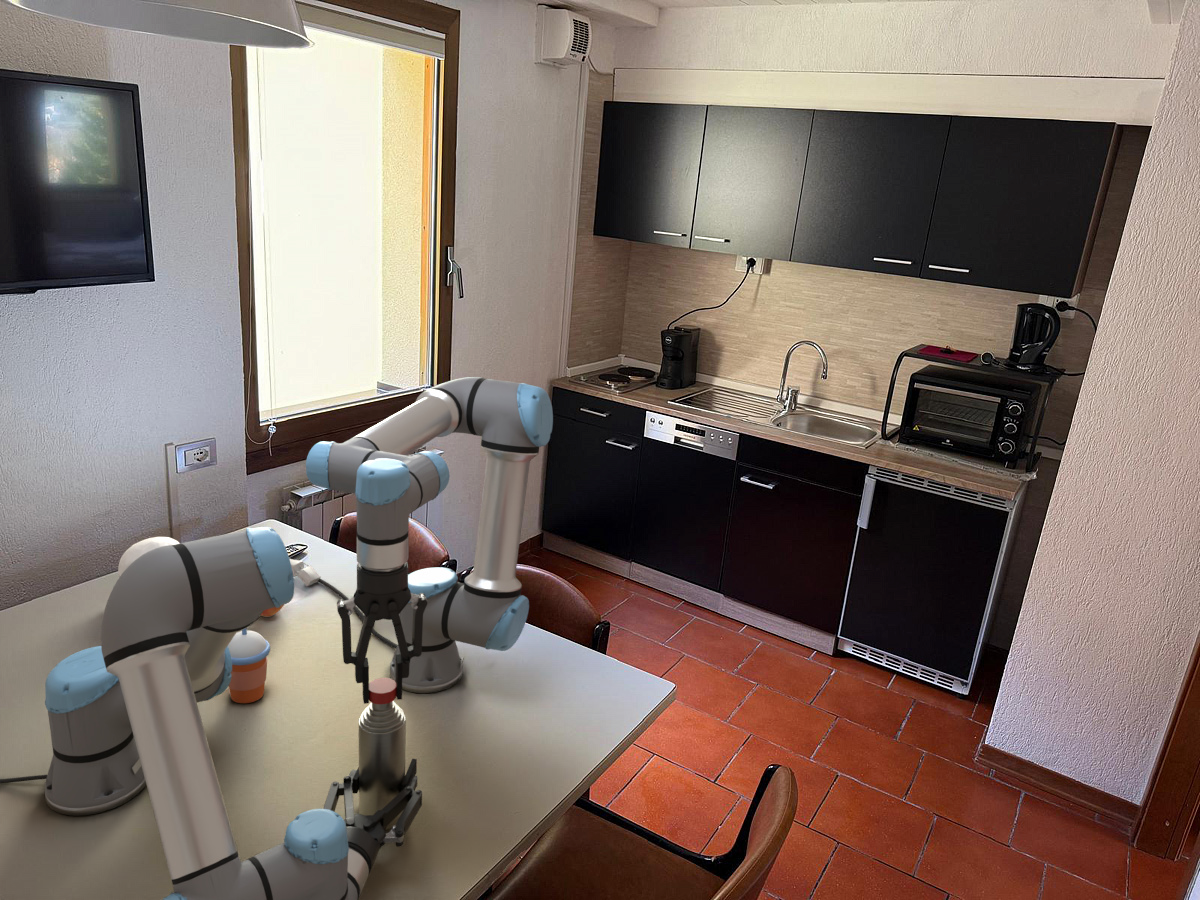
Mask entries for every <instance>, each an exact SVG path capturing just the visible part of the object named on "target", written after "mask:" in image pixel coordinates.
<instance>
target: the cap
mask: <svg viewBox="0 0 1200 900" xmlns="http://www.w3.org/2000/svg"><path fill="white" fill-rule="evenodd" d="M396 700H397V685H396V682H395V681H394V680H393V679H391V678H390V677H379V678H374V679H373V680H371V681H369V703H371V702H372V703H374V704H387V703H390V702H392V701H394V702H395V701H396Z"/></svg>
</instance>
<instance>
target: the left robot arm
mask: <svg viewBox="0 0 1200 900" xmlns="http://www.w3.org/2000/svg"><path fill="white" fill-rule="evenodd" d="M179 543H180V542H179ZM290 559H291V558H290V556H289V553H288V551H287V548H286V545H285V543H284V542H283V539H282V537H281V536H280V534H279V533H278V532H277V531H276V530H275V529H274V528H273V527H270V526H260V527H246V528H245V529H244V530H239V531H235V532H230V533H225V534H220V535H215V536H214V535H213V536H209V537H204V538H201V539H195V540H191V541H185V542H181V543H180V544H176V545H168V546H162V547H159V548H156V549H153V550H151V551H149V552H147V553H145V554H143V555H142V556H140V557H139V558H137V559H136V560H135V561H134V562H133V563H132V564H130V565H129V566H128V567H127V569H126V570H125V571H124V572H123V573H122V575H121V576H120V577H119V576H118V579H117V580H116V582H115V584H114V585H113V587H112V588H111V589H112V590H111V591H110V594H109V596H108V598H107V601H106V604H105V607H104V610H103V614H102V620H101V626H100V645H97V646H92V647H88V648H85V649H82V650H79V651H77V652H75V653H73V654H70V655H69V656H66V657H65V658H63V659H61V661H59V662H58V663H57V664H56V665H55V667H53V668H52V669H51V670H50V671H49V673H48V675H47V677H46V679H45V684H44V685H45V686H44V687H45V689H44V690H45V691H44V692H45V693H44V694H45V698H44V699H45V700H44V705H45V708H46V710H47V715H48V723H49V724H48V725H49V731H50V739H51V746H52V757H51V761H50V764H49V768H48V771H47V774H39V775H28V776H21V777H19V776H18V777H10V778H0V784H9V783H11V784H12V783H20V782H26V781H27V782H29V781H38V780H39V781H41V780H45V781H44V799H45V802H46V805H47V806H48V807H49V808H50V809H51V810H53V811H54V812H56V813H58V814H61V815H65V816H66V815H67V816H89V815H95V814H99V813H104V812H107V811H110V810H113V809H115V808H117V807H119V806H121V805H123V804H125V803H127V802H130V800H132V799H133V798H135V797H136V796H137V795H139V794H140V792H142V791H143V790H144V788H147V792H148V796H149V801H150V803H151V808H152V811H153V815H154V818H155V822H156V826H157V830H158V835H159V837H160V841H161V845H162V850H163V853H164V857H165V862H166V864H167V869H168V872H169V876H170V879H171V884H172V886H173V892H171V893H170V894H169V895H167V896H165V897H164V898H162V900H359V899H360V896H361V894H362V892H363V890H364V887H365V885H366V883H367V880H368V878H369V874H370V873H371V871H372V868H373V866H374V863H375V861H376V859H377V857H378V854H379V851H380V850H381V848H383V847H384V846H385V844H388V843H394V845H395V846H396V847H397V848H399V847H403V846H404V840H405V835H406V833H407V832H408V830H409V829H410V826H411V825H412V823H413V822H414V820H415V818H416V816H417V814H418V813H419V811H420V810H421V808H422V806H423V790H421V789H417V787H418V775H417V771H418V769H417V765H418V764H417V763H418V759H417V758H411V761H410V763H409V764H408V768H407V770H406V772H405V777H404V780H403V782H402V790H401V792H400V793H399V794H398V795H397V796H396V797H395V798H394V799H392V800H391V801H390V802H389V803H388V804H387V805H386V806H385V807H384V808H383V809H382V810H378V811H377V812H376V813H375V814H374V815H362V814H359V813H355V809H354V808H355V807H354V796H353V794H359V766H358V767H357V769H352V770H351V771H349V774H348V775H346V776H344V777H343V782H341V783H340V782H339V781H332V782H331V784H330V787H329V790H328V793H327V795H326V799H325V802H324V804H323V808H313V809H308V810H305V811H303V812H301V813H299V814H298V815H296V817H295V818H294V819H293V820H292V821H290V822H289V824H288V826H286V830H285V834H284V838H283V842H281V843H279V844H277V845H275V846H273V847H271V848H269V849H266V850H265V851H262V852H260V853H257V854H255V855H253V856H251V857H249V858H247V859H245V860H243V861H241V858H240V856H239V855H240V854H239V852H238V851H239V849H238V847H237V843H236V839H235V836H234V832H233V829H232V825H231V821H230V817H229V814H228V811H227V807H226V802H225V798H224V796H223V792H222V788H221V784H220V782H219V778H218V774H217V771H216V767H215V764H214V760H213V759H214V758H213V757H212V753H211V752H212V751H211V749H210V745H209V742H208V738H207V735H206V731H205V727H204V724H203V723H204V722H203V721H202V715H201V713H200V709H199V706H198V703H202V702H206V701H209V700H212V699H213V698H214V697H217V696H219V695H221V694H223V693H224V692H225V691H226V690H227V689H229V684H230V681H231V677H232V675H231V671H232V659H231V654H230V651H229V648H228V645H229V643H230V642H231V640H232V638H233V637H234V635H235V634H236V633H237V632H240V631H242V630H243V629H245V628H247V629H248V627H250V626H252V625H253V624H254V623H255V622H256V621H257V620H258V619H259V618H260V617H261V616H260V615H261V614H262V612H263V611H264V610H267V609H270V608H274V607H276V608H279V607H280V606H281V605H284V606H285V605H287V604H289V603H290V602H292V600H293V598H294V595H295V579H294V578H295V577H293V571H292V567H291V563H290ZM341 796H343V800H344V801H343V803H344V805H343V806H344V819H343V816H342V815H340V814H339V813H337V812H336V808H337V805H338V801H339V798H340V797H341ZM402 811H403V812H402ZM401 812H402V814H401V815H400V817H399V819H398V820H397V823H396V825H394V826H393V828H390V829H389V832H386V831H387V830H386V827H387V826H388V825H389V824H390V823H391V822H392V821H393V820H394V819H395V818H396V817H397V816H398V815H399V814H400V813H401Z"/></svg>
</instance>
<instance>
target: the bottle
mask: <svg viewBox="0 0 1200 900" xmlns="http://www.w3.org/2000/svg"><path fill="white" fill-rule="evenodd" d="M406 726H407V717H406V714H405V712H404V710H403V708H401V707H400V705H398V704H397V703H396V702H395V700H394V701H392V702H390V703H387V704H374V703H372V702H369V703H368V705H367V707H365V709H364V710H363V711H362V712H361V713H360V716H359V718H358V767H359V791H358V814H362V815H374V814H375V813H376V812H377V811H378V810H382V809H383V808H384V807H385V806H386V805H387V804H388V803H389V802H390V801H391V800H392V799H394V798H395V797H396V796H397V795H398V794H399V793H400V792H401V790H402V782H403V780H404V777H405V775H406V745H407V744H406V743H407V742H406V740H407V739H406V734H407V733H406V732H407V727H406ZM402 812H403V811H402ZM402 812H401V813H400V814H399V815H398V816H397V817H396V818H395V819H394V820H393V821H392V822H391V823H390V824H389V825H388V826H387V827H386V830H385V831H387V830H391V829H392V828H393V826H394V825H396V823H397V820H398V819H399V817H400V815H401V814H402Z"/></svg>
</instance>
